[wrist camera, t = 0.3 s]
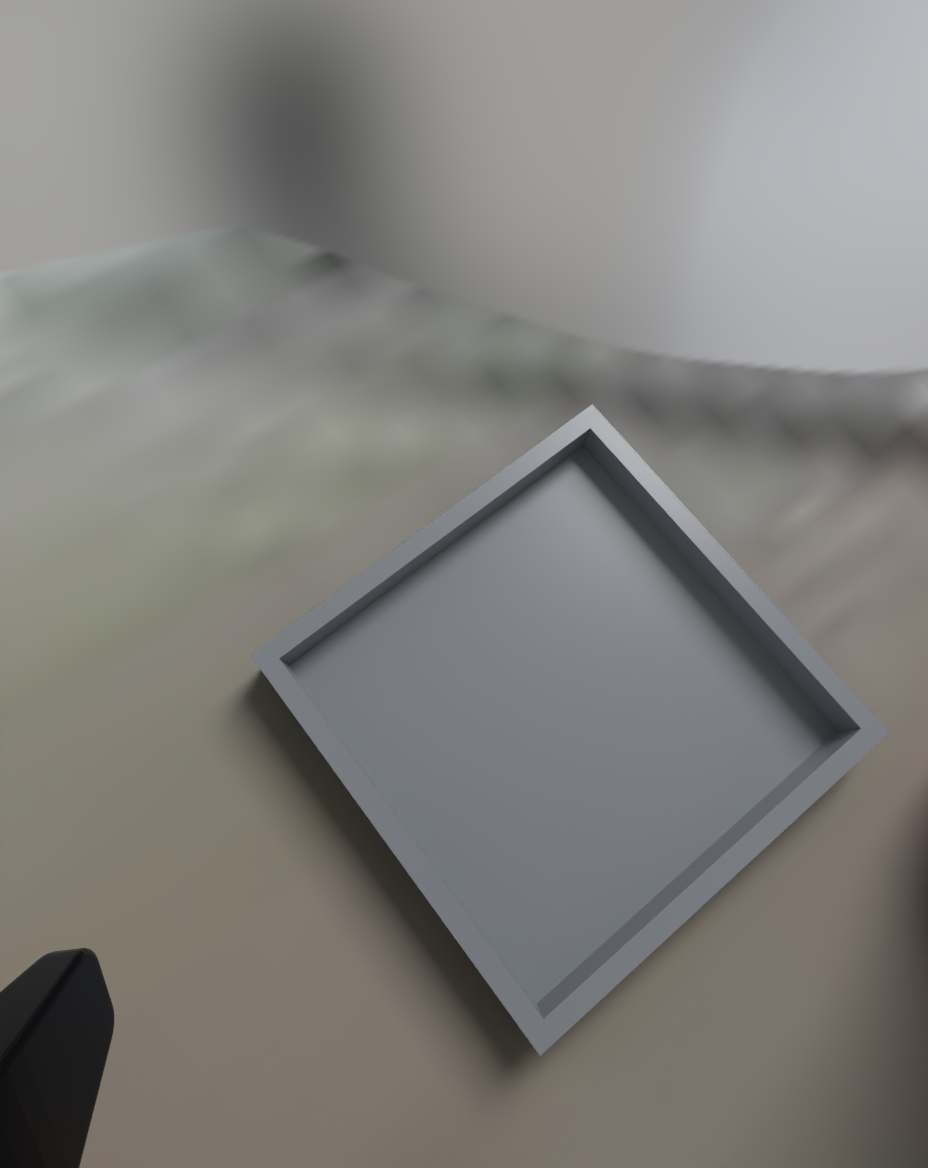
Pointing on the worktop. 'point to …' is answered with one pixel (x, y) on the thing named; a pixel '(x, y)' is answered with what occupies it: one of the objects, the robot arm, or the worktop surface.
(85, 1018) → the robot arm
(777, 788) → the slate tray
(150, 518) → the worktop surface
